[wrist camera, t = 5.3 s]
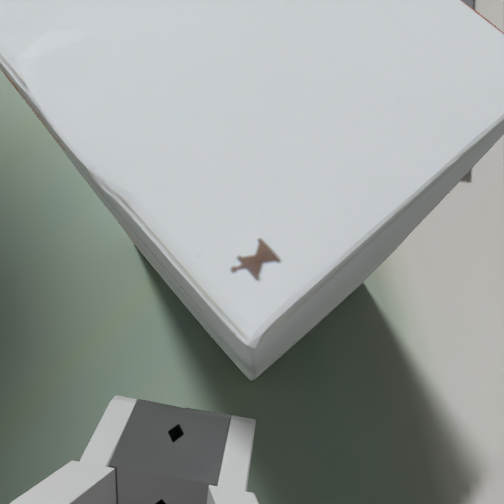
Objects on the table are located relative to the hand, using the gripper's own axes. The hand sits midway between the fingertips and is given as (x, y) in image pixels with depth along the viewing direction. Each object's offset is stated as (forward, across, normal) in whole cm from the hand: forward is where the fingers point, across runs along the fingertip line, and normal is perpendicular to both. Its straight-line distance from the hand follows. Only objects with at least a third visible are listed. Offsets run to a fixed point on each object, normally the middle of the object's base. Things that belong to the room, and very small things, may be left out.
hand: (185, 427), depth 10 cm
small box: (+10, 0, +2) cm, 11 cm away
